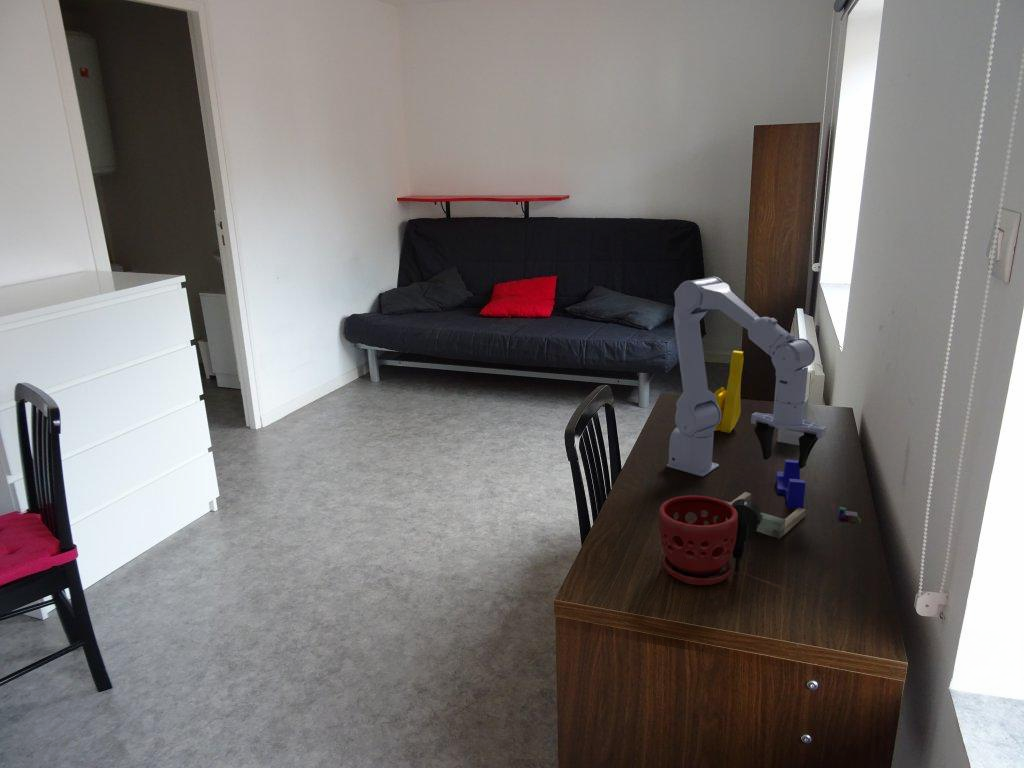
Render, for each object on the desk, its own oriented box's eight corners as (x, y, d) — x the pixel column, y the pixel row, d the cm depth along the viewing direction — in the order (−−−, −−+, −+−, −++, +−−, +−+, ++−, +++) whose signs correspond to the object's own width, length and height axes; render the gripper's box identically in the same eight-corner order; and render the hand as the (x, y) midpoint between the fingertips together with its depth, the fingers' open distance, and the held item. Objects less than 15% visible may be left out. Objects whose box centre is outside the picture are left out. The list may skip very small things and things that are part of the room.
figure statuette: (714, 418, 201) (719, 342, 195) (743, 422, 198) (749, 344, 191) (702, 440, 185) (707, 357, 179) (734, 444, 182) (739, 360, 176)
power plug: (719, 569, 126) (723, 507, 122) (729, 549, 132) (733, 490, 129) (752, 577, 123) (757, 514, 120) (761, 557, 129) (766, 496, 126)
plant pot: (738, 559, 129) (742, 499, 126) (728, 598, 118) (733, 532, 114) (665, 546, 134) (668, 487, 131) (649, 582, 123) (651, 519, 119)
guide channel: (717, 518, 144) (718, 503, 143) (744, 498, 152) (745, 484, 152) (779, 538, 136) (780, 523, 135) (804, 516, 144) (806, 501, 143)
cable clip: (775, 483, 160) (777, 458, 158) (797, 485, 158) (799, 460, 157) (779, 507, 149) (781, 480, 147) (802, 509, 147) (805, 482, 146)
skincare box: (805, 442, 182) (809, 397, 179) (801, 447, 179) (806, 402, 175) (780, 438, 185) (784, 394, 182) (776, 443, 182) (780, 398, 178)
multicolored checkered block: (838, 522, 142) (839, 511, 142) (838, 516, 145) (839, 505, 144) (861, 525, 141) (863, 514, 140) (861, 519, 143) (862, 508, 142)
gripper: (746, 397, 146) (742, 459, 150) (818, 412, 136) (812, 477, 140) (761, 389, 151) (756, 449, 155) (832, 402, 141) (825, 466, 145)
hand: (784, 462), depth 148 cm, fingers open, 7 cm apart
